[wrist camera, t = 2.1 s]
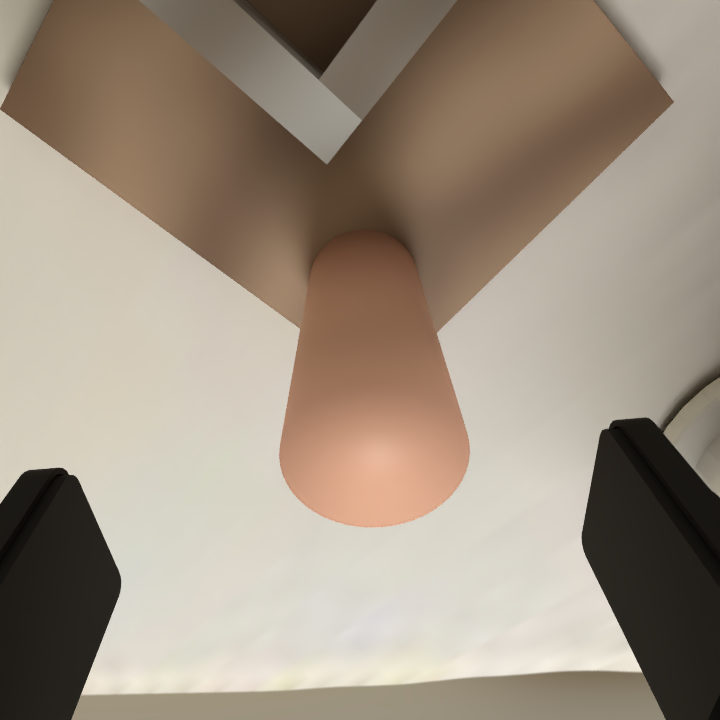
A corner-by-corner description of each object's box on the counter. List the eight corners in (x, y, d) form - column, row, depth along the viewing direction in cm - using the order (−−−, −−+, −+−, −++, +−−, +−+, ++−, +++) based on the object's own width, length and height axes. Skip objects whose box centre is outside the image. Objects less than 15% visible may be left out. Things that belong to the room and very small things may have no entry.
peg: (440, 277, 20) (509, 449, 12) (368, 350, 22) (382, 552, 13) (357, 206, 19) (365, 340, 10) (287, 288, 20) (241, 468, 12)
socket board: (655, 98, 18) (755, 115, 14) (379, 372, 24) (386, 449, 19) (269, -381, 13) (227, -606, 9) (20, 105, 18) (-89, 124, 14)
